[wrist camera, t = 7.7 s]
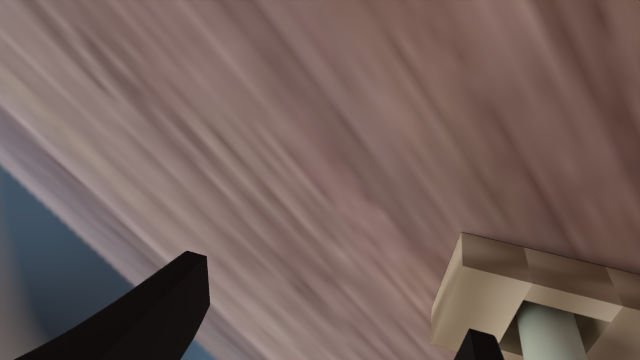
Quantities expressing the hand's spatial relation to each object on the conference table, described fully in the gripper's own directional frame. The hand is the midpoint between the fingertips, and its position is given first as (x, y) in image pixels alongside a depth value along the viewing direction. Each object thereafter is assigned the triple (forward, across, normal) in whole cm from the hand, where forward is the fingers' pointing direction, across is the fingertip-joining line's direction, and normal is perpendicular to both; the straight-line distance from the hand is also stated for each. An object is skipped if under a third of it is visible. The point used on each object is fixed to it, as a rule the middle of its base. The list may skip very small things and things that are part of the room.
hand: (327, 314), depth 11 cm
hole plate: (+10, -10, +7) cm, 16 cm away
